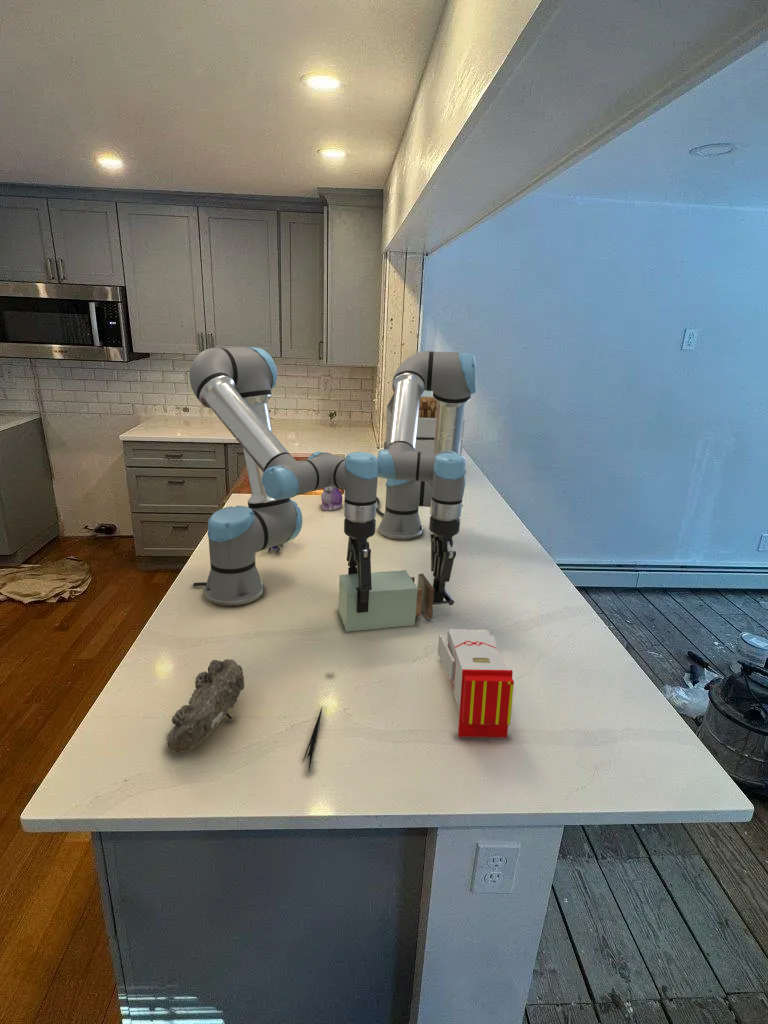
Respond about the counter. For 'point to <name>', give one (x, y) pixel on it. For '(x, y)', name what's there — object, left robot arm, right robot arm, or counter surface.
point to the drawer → (428, 597)
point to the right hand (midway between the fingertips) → (437, 601)
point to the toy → (478, 682)
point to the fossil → (206, 705)
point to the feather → (313, 740)
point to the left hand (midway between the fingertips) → (357, 600)
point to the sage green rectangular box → (379, 601)
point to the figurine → (331, 498)
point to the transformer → (421, 425)
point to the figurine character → (276, 547)
